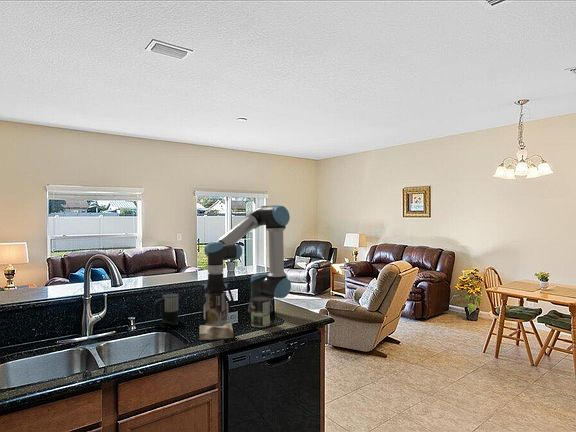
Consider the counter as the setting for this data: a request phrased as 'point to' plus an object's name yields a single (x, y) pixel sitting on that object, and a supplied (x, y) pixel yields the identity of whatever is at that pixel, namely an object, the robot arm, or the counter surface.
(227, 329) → the birch base
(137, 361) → the counter surface
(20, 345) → the counter surface
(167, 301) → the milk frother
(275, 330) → the counter surface
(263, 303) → the coffee can
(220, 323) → the coffee box
